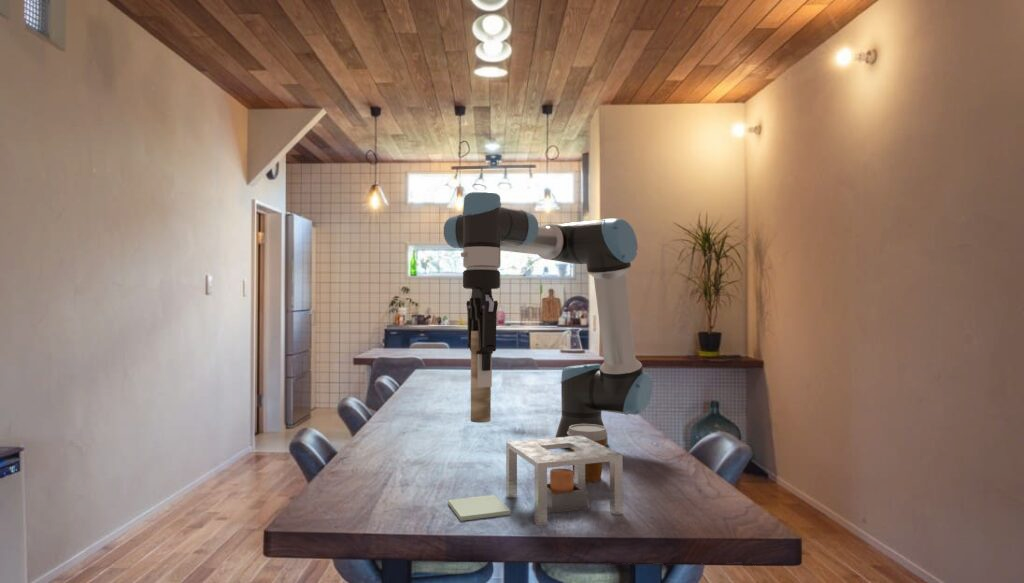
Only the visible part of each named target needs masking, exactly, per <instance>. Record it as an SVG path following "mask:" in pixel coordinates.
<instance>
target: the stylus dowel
mask: <svg viewBox="0 0 1024 583" xmlns="http://www.w3.org/2000/svg"><path fill="white" fill-rule="evenodd" d="M476 351H479V334H478V331H471V351H470V422H471V423H479V424H480V423H482V424H484V423H489V422H491V420H492V419H491V410H492V409H491V404H492V403H491V402H492V401H491V400H492V399H491V398H492V397H491V395H492V393H491V392H492V390H491V389H492V387H477V383H478V354H476Z"/></svg>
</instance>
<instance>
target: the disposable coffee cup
mask: <svg viewBox="0 0 1024 583" xmlns="http://www.w3.org/2000/svg"><path fill="white" fill-rule="evenodd" d="M567 434H568V437H569V436H581V435H582V436H584V437H586V438H588V439H590V440H592V441H594V442H596V443H598V444H601V445H603V446H605V440H606V437H607V438H608V434H609V433H608V432H607V428H606V426H605V425H604V426H600V425H595V424H576V425H571V426H570V427H569V430H568V432H567ZM570 452H574V450H573V449H572V448H570ZM603 463H604V462H599V463H589V464H585V483H589V484H590V483H597V482H600V481H601V478H602V472H603V471H602V470H603ZM571 467H572V471H573V472H574V465H571Z"/></svg>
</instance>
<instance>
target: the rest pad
mask: <svg viewBox="0 0 1024 583" xmlns="http://www.w3.org/2000/svg"><path fill="white" fill-rule="evenodd" d="M447 504H448V506H450V508H451V510H452V511H453V512H454V513H455V515H456V516H457V518H458V519H459V521H461V522H462V521H470V520H478V519H485V518H486V519H487V518H493V517H500V516H501V517H503V516H509V515H511V509H509V508H508V507H507V505H506V504H505V503H503V501H502V500H500V498H498V497H497V496H496V495H495V494H491V495H490V494H489V495H479V496H472V497H470V496H469V497H462V498H455V499H448V501H447Z"/></svg>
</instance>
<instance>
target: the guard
mask: <svg viewBox="0 0 1024 583" xmlns="http://www.w3.org/2000/svg"><path fill="white" fill-rule="evenodd" d="M505 444H506V445H505V452H506V453H505V454H506V455H505V456H506V457H505V458H506V460H505V463H506V464H505V475H506V476H505V480H506V481H505V486H506V487H505V488H506V489H505V493H506V494H505V496H506V497H507V498H508V499H512V498H517V497H518V456H519V457H521V458H522V459H523V460H525V461H527V463H529V464H531V465H532V466H534V523H535V524H536V525H537V526H541V525H542V526H543V525H547V524H548V511H549V512H550V513H551V514H555V513H562V512H570V511H577V510H579V511H580V510H586V509H589V490H588V489H586V482H585V464H589V463H599V462H603V463H607V462H609V512H610V513H611V514H612V515H616V516H617V515H623V513H624V512H623V511H624V507H623V506H624V505H623V504H624V501H623V496H624V493H623V491H624V486H623V485H624V484H623V479H624V478H623V477H624V476H623V475H624V472H623V471H624V469H623V468H624V467H623V465H624V464H623V463H624V462H623V461H624V460H623V457H624V455H623V454H621V453H619V452H618V451H616V450H613V449H612V448H609V447H607V446H606V447H605V446H603V445H601V444H598V443H596V442H594V441H592V440H590V439H588V438H586V437H584V436H582V435H581V436H569V437H557V438H556V437H547V438H535V439H526V440H525V439H524V440H513V441H506V443H505ZM569 448H572V449H573V450H574V452H571V451H568V452H566V451H565V452H556V453H553V452H551V451H550V450H558V449H569ZM572 465H574V490H573V491H565V492H557V493H555V492H553V491H552V490H551V489H550V481H548V468H559V467H567V466H572Z"/></svg>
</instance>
